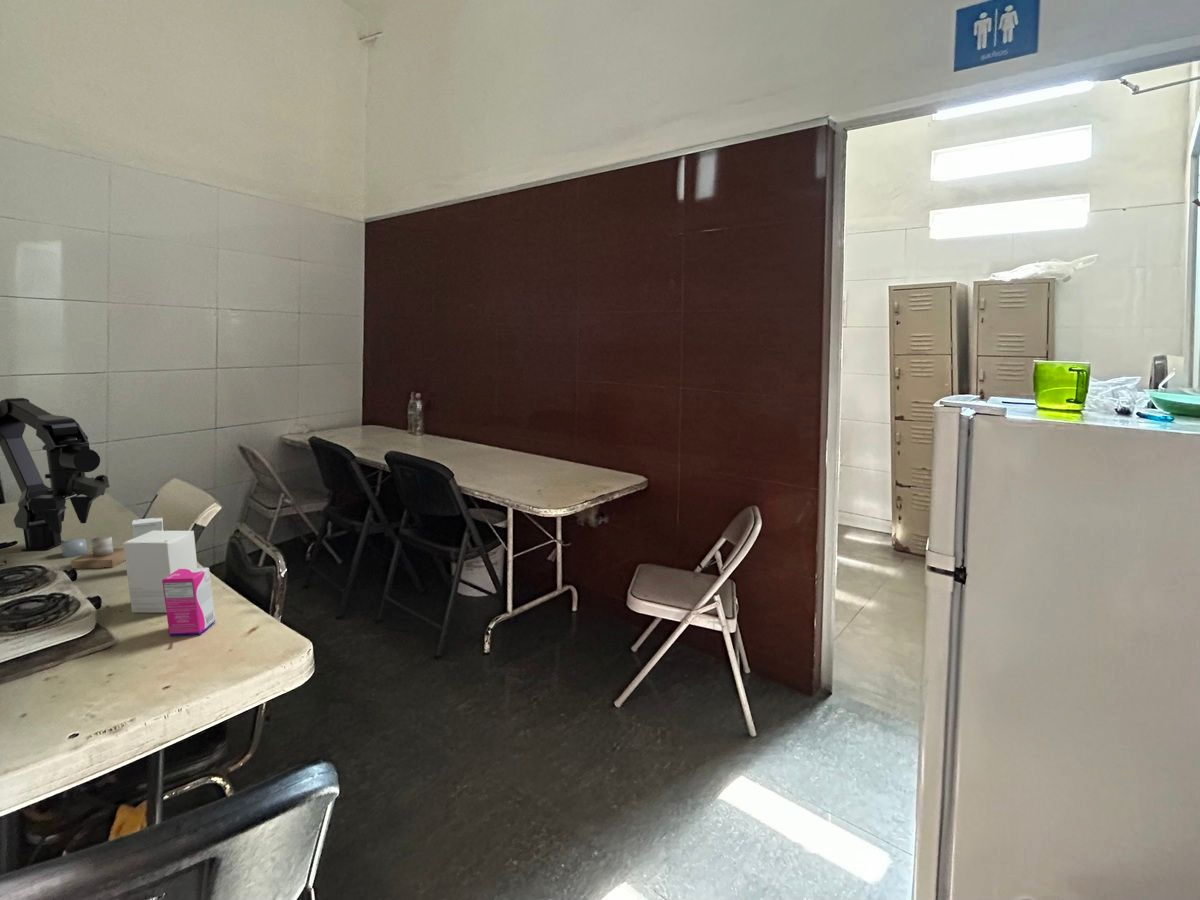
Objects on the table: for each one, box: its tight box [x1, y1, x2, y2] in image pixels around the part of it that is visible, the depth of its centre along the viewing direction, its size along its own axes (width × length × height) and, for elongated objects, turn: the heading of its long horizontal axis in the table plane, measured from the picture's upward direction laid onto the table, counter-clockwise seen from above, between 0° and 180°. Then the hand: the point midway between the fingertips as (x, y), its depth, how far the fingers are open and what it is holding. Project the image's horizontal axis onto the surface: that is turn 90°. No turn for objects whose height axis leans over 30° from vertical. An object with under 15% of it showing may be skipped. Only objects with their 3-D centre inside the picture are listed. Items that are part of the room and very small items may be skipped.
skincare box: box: [131, 516, 164, 539], centre depth 151 cm, size 6×4×12 cm
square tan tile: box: [70, 535, 126, 570], centre depth 155 cm, size 9×9×6 cm
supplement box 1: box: [122, 530, 198, 614], centre depth 130 cm, size 9×9×15 cm
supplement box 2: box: [162, 567, 216, 637], centre depth 119 cm, size 6×6×12 cm
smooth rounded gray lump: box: [60, 538, 88, 558], centre depth 161 cm, size 5×5×4 cm
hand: (71, 528), depth 160 cm, fingers open, 9 cm apart
